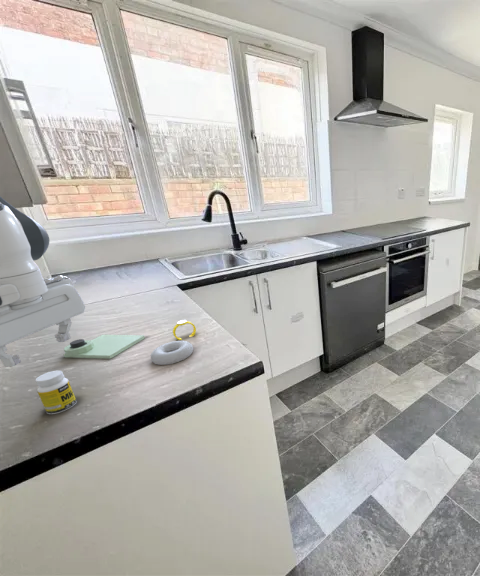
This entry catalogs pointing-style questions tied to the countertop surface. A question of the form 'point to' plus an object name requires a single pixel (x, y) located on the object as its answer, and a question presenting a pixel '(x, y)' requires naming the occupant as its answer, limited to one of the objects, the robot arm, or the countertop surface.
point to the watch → (184, 324)
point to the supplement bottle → (55, 392)
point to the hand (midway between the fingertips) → (40, 351)
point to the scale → (103, 346)
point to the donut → (171, 352)
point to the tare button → (77, 343)
